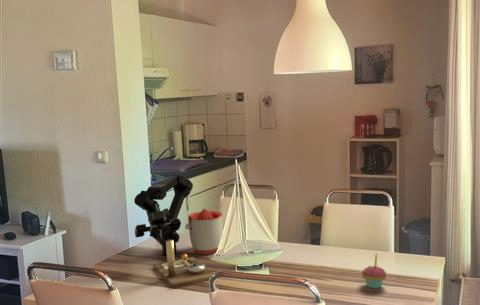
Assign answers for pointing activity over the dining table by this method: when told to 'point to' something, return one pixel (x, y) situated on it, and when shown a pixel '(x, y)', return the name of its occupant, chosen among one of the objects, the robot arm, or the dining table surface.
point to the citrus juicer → (205, 231)
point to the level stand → (182, 273)
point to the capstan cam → (191, 268)
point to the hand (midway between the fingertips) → (163, 245)
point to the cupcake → (374, 275)
